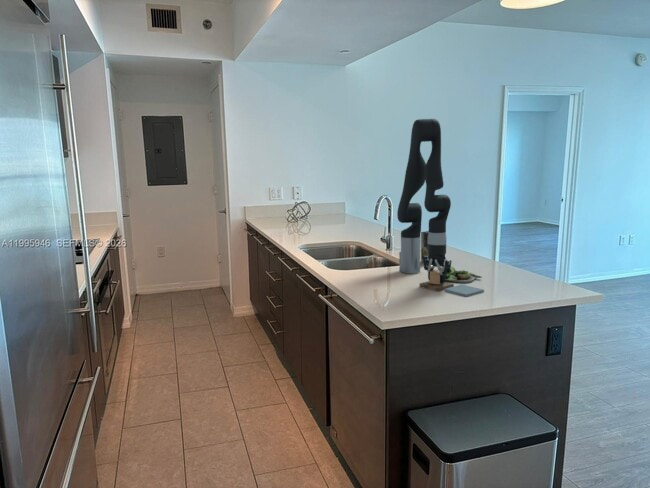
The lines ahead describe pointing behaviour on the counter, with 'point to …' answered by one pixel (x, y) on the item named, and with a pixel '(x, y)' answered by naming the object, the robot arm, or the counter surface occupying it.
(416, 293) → the counter surface
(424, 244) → the coffee box
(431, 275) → the cap
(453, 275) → the salad plate
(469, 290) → the tile
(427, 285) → the post stand
